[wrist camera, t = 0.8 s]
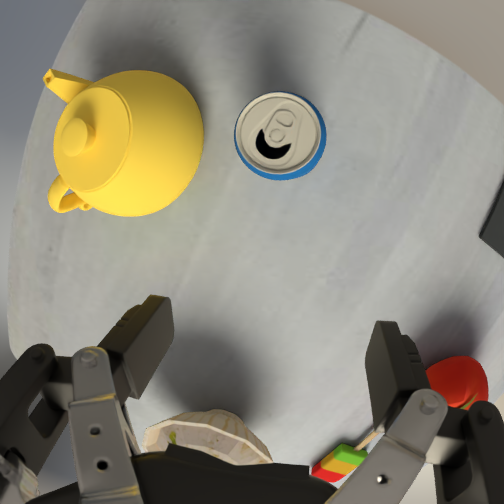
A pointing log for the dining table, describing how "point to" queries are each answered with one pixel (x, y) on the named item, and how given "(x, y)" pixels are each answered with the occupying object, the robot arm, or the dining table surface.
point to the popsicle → (341, 461)
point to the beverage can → (280, 135)
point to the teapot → (124, 142)
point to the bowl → (209, 437)
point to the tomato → (459, 381)
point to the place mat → (495, 225)
